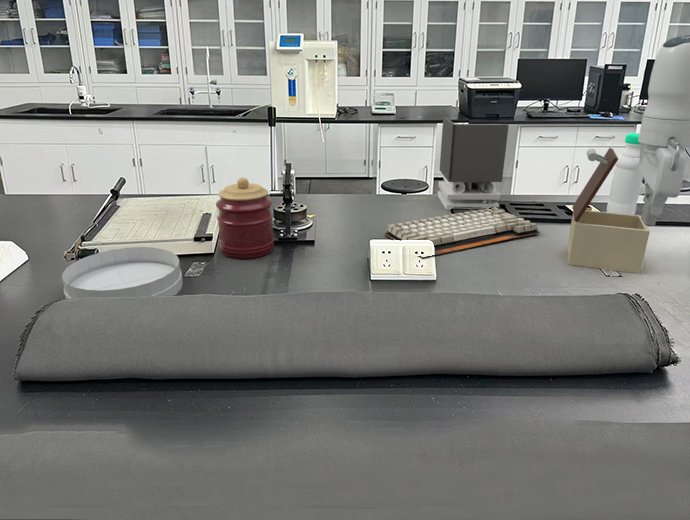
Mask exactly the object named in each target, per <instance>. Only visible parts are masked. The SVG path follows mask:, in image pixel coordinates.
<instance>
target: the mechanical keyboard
mask: <svg viewBox="0 0 690 520" xmlns="http://www.w3.org/2000/svg"><path fill="white" fill-rule="evenodd" d="M537 234H538V235H539V234H541V232H540V231H539V227H538V224H537V223H535V222H531V220H525V219H524V218H522V217H518V216H517V215H514V214H511V213H509V212H506V211H505V210H504V209H502V208H499V209H498V208H496V207H494V208H491V209H489V208H487V209H484V210H482V209H481V210H470V211H464V212H456V213H451V214H449V215H448V214H443V215H441V216H434V217H427V218H422V219H419V220H417V219H416V220H411V221H404V222H398V223H396V224H394V223H391V224H387V229H386V232H385V233H384V236H385V237H387V238H389V239H390V240H392V239H395V240H430V241H432V242H433V244H434V247H435V256H442V255H444V254H449V253H454V252H458V251H463V250H468V249H472V248H477V247H480V246H486V245H491V244H494V243H499V242H502V241H503V242H504V241H507V240H511V239H517V238H522V237H523V238H524V237H528V236H533V235H537Z"/></svg>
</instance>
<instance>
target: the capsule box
mask: <svg viewBox="0 0 690 520" xmlns="http://www.w3.org/2000/svg"><path fill="white" fill-rule="evenodd" d="M641 217H642V215H639V214H634V215H630V214H620V213H609V212H607V211H597V210H589V209H586V210H585V212H584V213H583V215H582V216H581V218H580V219H579V221H578V222H576V221H574V214H573V213H572V215H571V221H570V228H569V234H568V239H567V245H566V251H567V264H568V265H571V266H578V267H586V268H592V269H593V268H595V269H600V270H609V271H617V272H624V273H634V274H641V269H642V266H643V263H644V257H645V254H646V250H647V244H648V241H649V236H650V232H651V231H650V229H649V227H648V225H644V223H643V221H642V219H641Z"/></svg>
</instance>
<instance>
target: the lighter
mask: <svg viewBox="0 0 690 520" xmlns="http://www.w3.org/2000/svg"><path fill="white" fill-rule="evenodd" d="M652 200H653V194H650V195H649V197H646V198H645V202H643V208H642V213H641V216H642V217H641V219H642V221H643V223H644V225H647V226H656V222H657V217H658V215H652V214H651V213H650V211H649V210H650V205H651V203H652Z"/></svg>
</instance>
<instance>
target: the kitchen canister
mask: <svg viewBox="0 0 690 520" xmlns="http://www.w3.org/2000/svg"><path fill="white" fill-rule="evenodd" d="M268 194H269V190H268V189H266V188H264V187H262V186H261V185H260V184H257V183H252V182H251V183H250V182H249V180H248V178H246V177H239V178H238V179H237V182H236V183H234V184H230V185H227V186H225V187H224V189H222V190H220V191H219V192H218V196H219V197H220V199H218V200H216V203H215V207H216V208H217V210H218V215H217V217H216V220H217V225H218V235H219V241H218V243H219V248H220V251H221V254H223V255H224V256H226V257H228V258H233V259H245V260H246V259H254V258H259V257H264V256H266V255H268V254H270V253H271V252H272V251H273V250H274V247H275V237H274V224H273V222H274V221H273V218H274V214H273V212H272V210H271V206H272V205H273V200H272V199H271V198H270V197H269V196H268Z"/></svg>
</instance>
